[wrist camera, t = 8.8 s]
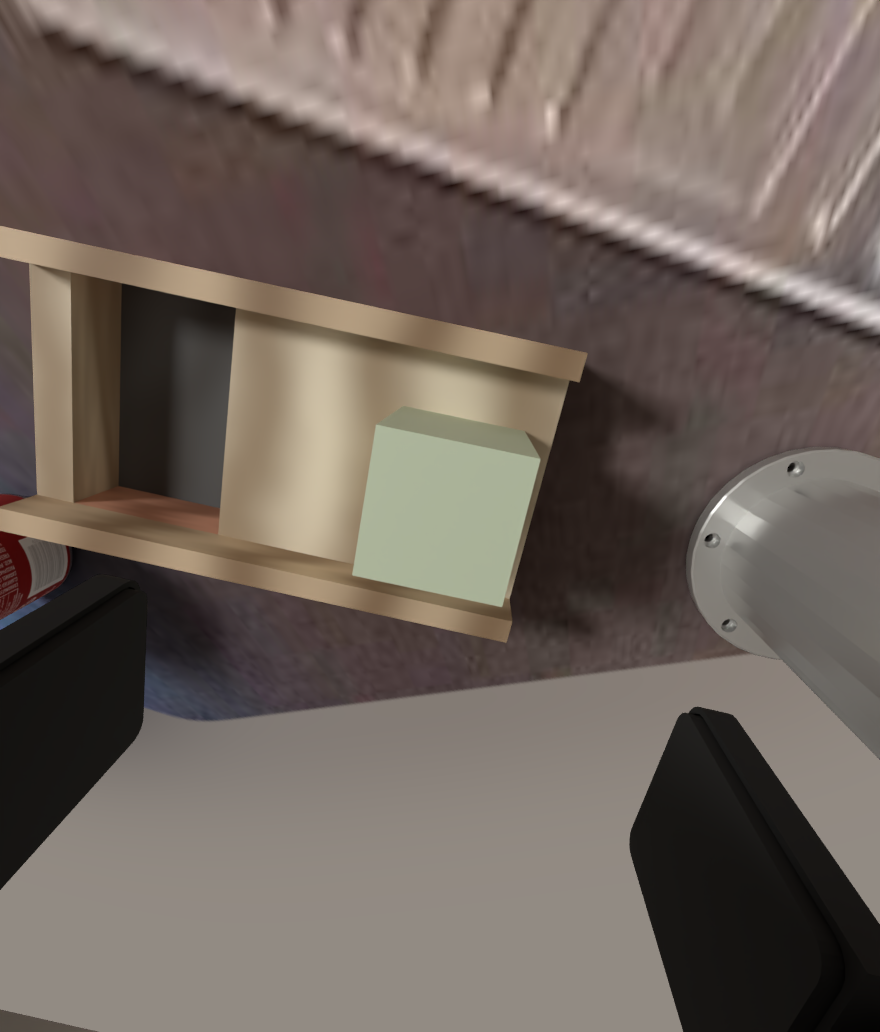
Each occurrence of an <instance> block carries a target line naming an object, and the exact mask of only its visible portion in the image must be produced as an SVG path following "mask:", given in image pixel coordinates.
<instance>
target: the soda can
mask: <svg viewBox="0 0 880 1032" xmlns="http://www.w3.org/2000/svg"><path fill="white" fill-rule="evenodd" d="M25 498H26V497H24V496H20V495H15V494H0V506H3V505H6V504H10V503H13V502H16V501H19V500H22V499H25ZM72 558H73V556H72V547H71V546H67V545H62V544H58V543H53V542H49V541H44V540H40V539H35V538H31V537H26V536H22V535H17V534H13V533H8V532H4V531H0V620H1V619H3V618H4V617H6V616H8V615H10V614H12V613H13V612H15V611H17V610H19V609H21V608H22V607H24V606H26V605H28V604H30V603H31V602H33V601H35V600H37V599H39V598H40V597H42V596H44V595H46V594H48V593H49V592H51V591H53V590H55V589H56V588H58V587H59V586H60V585H61V584H62V583H63V582H64V581H65V580H66V578H67V577H68V575H69V573H70V570H71V567H72Z"/></svg>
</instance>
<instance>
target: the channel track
mask: <svg viewBox="0 0 880 1032" xmlns="http://www.w3.org/2000/svg"><path fill="white" fill-rule="evenodd" d="M0 257H4V258H9V259H13V260H18V261H22V262H27V263H29V270H30V299H31V328H32V357H33V386H34V415H35V444H36V473H37V495H35V496H32V497H28V498H25V499H22V500H19V501H16V502H13V503H10V504H6V505H3V506H0V531H4V532H8V533H13V534H17V535H22V536H26V537H31V538H35V539H40V540H44V541H49V542H53V543H58V544H62V545H67V546H72V547H76V548H81V549H85V550H90V551H94V552H99V553H103V554H108V555H112V556H117V557H121V558H126V559H130V560H135V561H139V562H144V563H148V564H153V565H157V566H162V567H166V568H171V569H176V570H180V571H185V572H189V573H194V574H198V575H203V576H207V577H212V578H216V579H221V580H225V581H230V582H234V583H239V584H243V585H248V586H252V587H257V588H261V589H266V590H271V591H275V592H280V593H284V594H289V595H293V596H298V597H302V598H307V599H311V600H316V601H320V602H325V603H329V604H334V605H338V606H343V607H347V608H352V609H356V610H361V611H365V612H370V613H375V614H379V615H384V616H388V617H393V618H397V619H402V620H406V621H411V622H415V623H420V624H424V625H429V626H433V627H438V628H442V629H447V630H451V631H456V632H460V633H465V634H469V635H474V636H479V637H483V638H488V639H492V640H497V641H501V642H507V639H508V635H509V632H510V628H511V625H512V615H511V607H510V595H511V592H512V588H513V584H514V581H515V577H516V574H517V570H518V566H519V563H520V559H521V555H522V552H523V548H524V544H525V541H526V537H527V533H528V530H529V526H530V523H531V519H532V515H533V512H534V508H535V504H536V501H537V497H538V493H539V490H540V486H541V483H542V479H543V475H544V472H545V468H546V464H547V461H548V457H549V453H550V450H551V446H552V442H553V439H554V435H555V432H556V428H557V424H558V421H559V417H560V413H561V410H562V406H563V402H564V399H565V395H566V391H567V388H568V384H569V381H570V380H571V381H575V382H580V379H581V375H582V372H583V368H584V365H585V361H586V357H587V354H588V353H584V352H580V351H575V350H571V349H566V348H561V347H557V346H552V345H548V344H543V343H538V342H534V341H529V340H524V339H520V338H515V337H511V336H506V335H501V334H497V333H492V332H487V331H483V330H478V329H474V328H469V327H464V326H460V325H455V324H451V323H446V322H441V321H437V320H432V319H427V318H423V317H418V316H414V315H409V314H404V313H400V312H395V311H391V310H386V309H381V308H377V307H372V306H367V305H363V304H358V303H354V302H349V301H344V300H340V299H335V298H330V297H326V296H321V295H317V294H312V293H307V292H303V291H298V290H294V289H289V288H284V287H280V286H275V285H270V284H266V283H261V282H257V281H252V280H247V279H243V278H238V277H234V276H229V275H224V274H220V273H215V272H210V271H206V270H201V269H197V268H192V267H187V266H183V265H178V264H174V263H169V262H164V261H160V260H155V259H150V258H146V257H141V256H137V255H132V254H127V253H123V252H118V251H113V250H109V249H104V248H100V247H95V246H90V245H86V244H81V243H77V242H72V241H67V240H63V239H58V238H53V237H49V236H44V235H40V234H35V233H30V232H26V231H21V230H17V229H12V228H7V227H3V226H0ZM402 406H407V407H412V408H416V409H421V410H426V411H431V412H435V413H440V414H445V415H450V416H455V417H459V418H464V419H469V420H474V421H479V422H483V423H488V424H493V425H498V426H503V427H507V428H512V429H517V430H522V431H525V433H526V434H527V436H528V438H529V439H530V441H531V443H532V445H533V446H534V448H535V450H536V452H537V453H538V455H539V457H540V459H541V460H540V464H539V468H538V471H537V475H536V479H535V483H534V487H533V491H532V494H531V498H530V502H529V506H528V510H527V514H526V517H525V521H524V525H523V529H522V533H521V537H520V540H519V544H518V548H517V552H516V556H515V560H514V563H513V567H512V571H511V575H510V579H509V583H508V586H507V590H506V594H505V598H504V602H503V606H502V607H499V606H494V605H489V604H484V603H480V602H475V601H470V600H466V599H461V598H456V597H452V596H447V595H442V594H437V593H433V592H428V591H423V590H419V589H414V588H409V587H404V586H400V585H395V584H390V583H386V582H381V581H376V580H371V579H367V578H362V577H357V576H353V575H352V573H353V567H354V561H355V554H356V548H357V542H358V535H359V529H360V523H361V516H362V510H363V504H364V497H365V491H366V485H367V478H368V472H369V466H370V459H371V453H372V447H373V441H374V434H375V428H376V424H378V423H379V422H380V421H382V420H383V419H385V418H386V417H388V416H389V415H391V414H392V413H394V412H395V411H396V410H398V409H399V408H401V407H402Z"/></svg>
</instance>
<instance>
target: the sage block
mask: <svg viewBox="0 0 880 1032" xmlns="http://www.w3.org/2000/svg"><path fill="white" fill-rule="evenodd" d="M540 460H541V459H540V457H539V455H538V453H537V452H536V450H535V448H534V446H533V445H532V443H531V441H530V439H529V438H528V436H527V434H526V433H525V431H522V430H517V429H512V428H507V427H503V426H498V425H493V424H488V423H483V422H479V421H474V420H469V419H464V418H459V417H455V416H450V415H445V414H440V413H435V412H431V411H426V410H421V409H416V408H412V407H407V406H402V407H401V408H399V409H398V410H396V411H395V412H394V413H392V414H391V415H389V416H388V417H386V418H385V419H383V420H382V421H380V422H379V423H378V424H376V428H375V434H374V441H373V447H372V453H371V459H370V466H369V472H368V478H367V485H366V491H365V497H364V504H363V510H362V516H361V523H360V529H359V535H358V542H357V548H356V554H355V561H354V567H353V573H352V575H353V576H357V577H362V578H367V579H371V580H376V581H381V582H386V583H390V584H395V585H400V586H404V587H409V588H414V589H419V590H423V591H428V592H433V593H437V594H442V595H447V596H452V597H456V598H461V599H466V600H470V601H475V602H480V603H484V604H489V605H494V606H499V607H502V606H503V602H504V598H505V594H506V590H507V586H508V583H509V579H510V575H511V571H512V567H513V563H514V560H515V556H516V552H517V548H518V544H519V540H520V537H521V533H522V529H523V525H524V521H525V517H526V514H527V510H528V506H529V502H530V498H531V494H532V491H533V487H534V483H535V479H536V475H537V471H538V468H539V464H540Z"/></svg>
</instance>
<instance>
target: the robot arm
mask: <svg viewBox="0 0 880 1032" xmlns="http://www.w3.org/2000/svg"><path fill="white" fill-rule="evenodd" d="M790 464H791V466H790V468H789V469H788V466H789V465H790ZM709 534H710V536H709V538H707V539H705V538H706V536H707V535H709ZM686 578H687V582H688V587H689V591H690V595H691V597H692V599H693V601H694V603H695V605H696V607H697V610H698V611H699V612H700V613H701V615H702V616H703V617H704V619H705V620H706V621H707V623H708V624H709V625H710V626H711V627H712V628H713V629H714V630H715V632H716V633H717V634H718V635H720V636H721V637H722V638H724V639H725V640H727V641H728V642H730V643H731V644H733V645H734V646H736V647H737V648H740V649H742V650H744V651H747V652H749V653H752V654H754V655H758V656H763V657H768V658H771V659H782V660H783V661H784V662H785V663H786V665H788V666H789V667H790V669H791V670H792V671H793V672H794V673H795V674H796V675H797V676H798V677H799V678H800V679H801V680H802V681H803V682H804V683H805V684H806V685H807V686H808V687H809V688H810V689H811V690H812V691H813V692H814V693H815V694H816V695H817V696H818V697H819V698H820V699H821V700H822V701H823V702H824V703H825V704H826V705H827V706H828V707H829V708H830V709H831V710H832V711H833V713H835V715H837V717H838V718H839V719H840V720H841V721H842V722H843V723H844V724H845V725H846V726H847V727H848V728H849V729H850V730H851V731H852V732H853V733H854V734H855V735H856V736H857V737H858V738H859V739H860V740H861V741H862V742H863V743H864V744H865V745H866V746H867V747H868V748H869V749H870V750H871V751H872V752H873V753H874V754H875V755H876V756H877V757H878V758H879V760H880V459H879V458H876V457H873V456H870V455H867V454H864V453H861V452H857V451H852V450H848V449H843V448H838V447H809V448H803V449H796V450H790V451H787V452H784V453H781V454H778V455H775V456H772V457H769V458H766V459H764V460H762V461H760V462H759V463H757V464H755V465H753V466H751V467H749V468H747V469H745V470H744V471H743V472H741V473H740V474H739V475H737V476H736V477H735V478H733V479H732V480H731V481H729V482H728V483H727V484H726V485H725V486H724V487H723V488H722V489H721V490H720V491H719V492H718V493H717V494H716V495H715V496H714V497H713V498H712V499H711V501H710V502H709V504H708V505H707V507H706V508H705V509H704V511H703V512H702V514H701V515H700V517H699V519H698V521H697V523H696V525H695V528H694V530H693V532H692V535H691V537H690V541H689V546H688V551H687V555H686ZM146 627H147V596H146V594H145V593H144V592H142V591H140V587H139V585H138V583H136V582H135V581H132V580H127V579H123V578H118V577H114V576H109V575H105V574H99V575H96V576H94V577H92V578H90V579H89V580H87V581H85V582H83V583H82V584H80V585H78V586H76V587H75V588H73V589H71V590H69V591H68V592H66V593H64V594H62V595H61V596H59V597H57V598H55V599H54V600H52V601H50V602H48V603H47V604H45V605H43V606H42V607H40V608H38V609H36V610H35V611H33V612H31V613H29V614H28V615H26V616H24V617H22V618H21V619H19V620H17V621H15V622H14V623H12V624H10V625H8V626H7V627H5V628H3V629H1V630H0V890H1V888H2V887H3V886H4V885H5V884H6V883H7V882H8V881H9V879H10V878H11V877H12V876H13V875H14V874H15V873H16V872H17V871H18V870H19V868H20V867H21V866H22V865H23V864H24V863H25V862H26V861H27V860H28V858H29V857H30V856H31V855H32V854H33V853H34V852H35V851H36V849H37V848H38V847H39V846H40V845H41V844H42V843H43V842H44V841H45V839H46V838H47V837H48V836H49V835H50V834H51V833H52V832H53V831H54V830H55V828H56V827H57V826H58V825H59V824H60V823H61V822H62V821H63V819H64V818H65V817H66V816H67V815H68V814H69V813H70V812H71V810H72V809H73V808H74V807H75V806H76V805H77V804H78V803H79V802H80V801H81V799H82V798H83V797H84V796H85V795H86V794H87V793H88V792H89V790H90V789H91V788H92V787H93V786H94V785H95V784H96V783H97V782H98V781H99V779H100V778H101V777H102V776H103V775H104V773H106V772H107V770H108V769H109V768H110V767H111V766H112V765H113V764H114V763H115V762H116V760H117V759H118V758H119V757H120V756H121V755H122V754H123V753H124V752H125V750H126V749H127V748H128V747H129V746H130V745H131V743H132V742H133V741H134V740H135V739H136V737H137V735H138V734H139V731H140V729H141V726H142V723H143V712H144V683H145V655H146ZM630 853H631V857H632V860H633V864H634V867H635V871H636V874H637V877H638V880H639V884H640V887H641V891H642V894H643V897H644V901H645V904H646V908H647V911H648V914H649V918H650V921H651V924H652V928H653V931H654V934H655V938H656V941H657V945H658V948H659V951H660V955H661V958H662V961H663V965H664V968H665V972H666V974H667V978H668V981H669V985H670V988H671V992H672V995H673V998H674V1002H675V1005H676V1009H677V1012H678V1015H679V1019H680V1022H681V1025H682V1029H683V1032H880V924H879V923H878V921H877V920H876V918H875V917H874V916H873V914H872V913H871V911H870V910H869V908H868V907H867V905H866V904H865V903H864V901H863V900H862V899H861V897H860V895H859V894H858V892H857V891H856V890H855V888H854V887H853V885H852V884H851V882H850V881H849V880H848V878H847V877H846V875H845V874H844V872H843V871H842V870H841V868H840V867H839V865H838V864H837V862H836V861H835V859H834V858H833V857H832V855H831V854H830V852H829V851H828V849H827V848H826V847H825V845H824V844H823V842H822V841H821V840H820V838H819V837H818V835H817V834H816V832H815V831H814V830H813V828H812V827H811V825H810V824H809V822H808V821H807V819H806V818H805V817H804V815H803V814H802V812H801V811H800V809H799V808H798V807H797V805H796V804H795V802H794V801H793V799H792V798H791V797H790V795H789V794H788V792H787V791H786V789H785V788H784V787H783V785H782V784H781V782H780V781H779V779H778V778H777V776H776V775H775V774H774V772H773V771H772V769H771V768H770V766H769V765H768V764H767V762H766V761H765V759H764V758H763V756H762V755H761V753H760V752H759V750H758V749H757V748H756V746H755V745H754V743H753V742H752V741H751V739H750V738H749V736H748V735H747V733H746V732H745V730H744V729H743V728H742V726H741V725H740V723H739V722H738V720H737V719H736V718H735V717H734V716H733V715H731V714H728V713H723V712H719V711H715V710H710V709H705V708H701V707H694V708H693V709H691V711H690V712H689V713H682V714H681V715H680V716H679V717H678V719H677V721H676V724H675V726H674V729H673V731H672V733H671V736H670V738H669V740H668V743H667V745H666V748H665V750H664V752H663V755H662V757H661V760H660V762H659V765H658V767H657V769H656V772H655V774H654V776H653V779H652V782H651V784H650V786H649V788H648V791H647V793H646V796H645V798H644V801H643V803H642V805H641V808H640V810H639V812H638V815H637V817H636V820H635V822H634V824H633V827H632V829H631V833H630ZM0 1032H97V1031H92V1030H88V1029H84V1028H79V1027H74V1026H70V1025H66V1024H62V1023H57V1022H53V1021H48V1020H44V1019H39V1018H35V1017H31V1016H26V1015H22V1014H17V1013H13V1012H8V1011H4V1010H0Z"/></svg>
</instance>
